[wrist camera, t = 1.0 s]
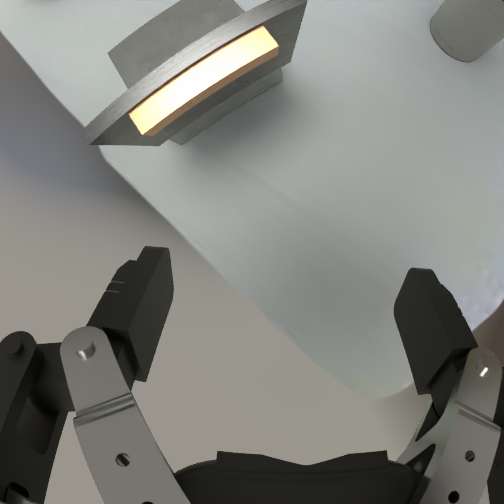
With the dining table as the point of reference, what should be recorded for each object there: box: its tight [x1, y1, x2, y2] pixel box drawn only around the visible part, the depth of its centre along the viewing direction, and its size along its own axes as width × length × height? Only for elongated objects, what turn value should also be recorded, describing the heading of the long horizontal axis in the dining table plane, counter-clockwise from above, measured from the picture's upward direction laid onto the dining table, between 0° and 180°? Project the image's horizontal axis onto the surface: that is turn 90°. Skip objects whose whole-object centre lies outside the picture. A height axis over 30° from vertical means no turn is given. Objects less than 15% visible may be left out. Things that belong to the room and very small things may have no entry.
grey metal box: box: [108, 0, 283, 145], centre depth 34 cm, size 16×14×9 cm
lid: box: [81, 0, 307, 146], centre depth 23 cm, size 17×15×3 cm
